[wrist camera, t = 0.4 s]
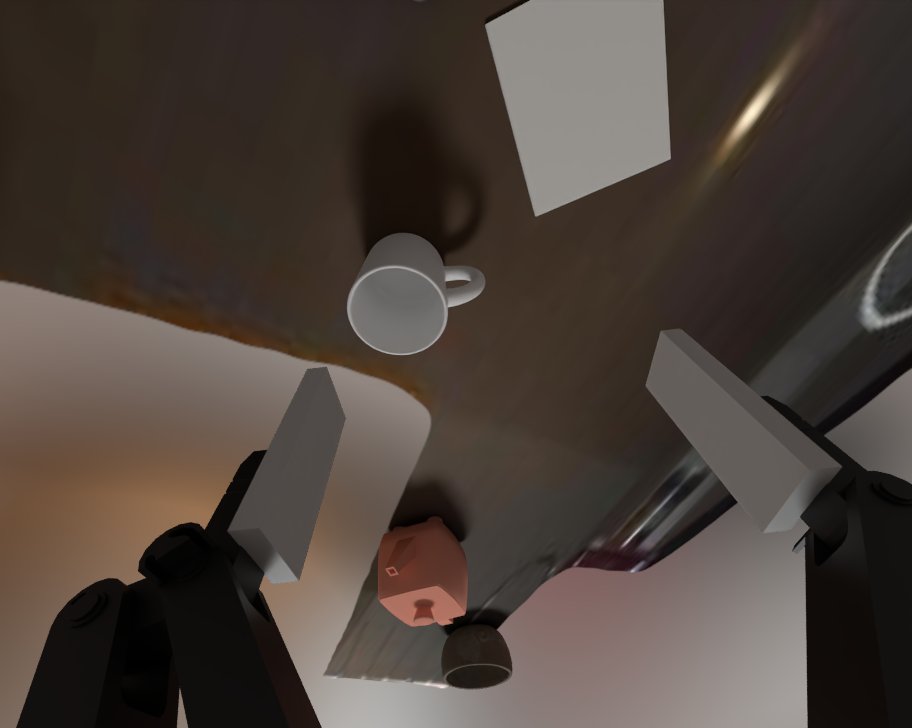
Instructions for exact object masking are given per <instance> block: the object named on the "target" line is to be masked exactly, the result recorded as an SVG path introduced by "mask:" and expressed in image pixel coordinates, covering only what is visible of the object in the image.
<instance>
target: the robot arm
mask: <svg viewBox="0 0 912 728" xmlns="http://www.w3.org/2000/svg"><path fill="white" fill-rule="evenodd" d="M646 387H647V388H648V390H649V391H650V392H651V393H652V395H653V396H654V397H655V398H656V400H657V401H658V402H659V403H660V405H661V406H662V407H663V409H664V410H665V411H666V412H667V414H668V415H669V416H670V417H671V419H672V420H673V421H674V422H675V424H676V425H677V426H678V427H679V429H680V430H681V431H682V432H683V434H684V435H685V436H686V437H687V439H688V440H689V441H690V443H691V444H692V445H693V446H694V448H695V449H696V450H697V451H698V453H699V454H700V455H701V456H702V458H703V459H704V460H705V461H706V463H707V464H708V465H709V466H710V468H711V469H712V470H713V471H714V473H715V474H716V475H717V477H718V478H719V479H720V480H721V482H722V483H723V484H724V485H725V487H726V488H727V489H728V490H729V492H730V493H731V494H732V495H733V497H734V498H735V499H736V500H737V502H738V503H739V504H740V505H741V507H742V508H743V509H744V510H745V512H746V513H747V514H748V516H749V517H750V518H751V519H752V521H753V522H754V523H755V524H756V526H757V527H758V528H759V529H760V531H761V532H762V533H768V532H778V531H786V530H790V529H791V528H792V527H793V526H794V524H795V523H796V522H797V521H798V520H799V518H801V519H802V520H803V521H804V522H805V523H806V524H807V525H808V526H809V527H810V528H809V530H808V531H807V532H806V533H805V534H804V535H803V536H802V537H801V539H800V540H799V541H798V542H797V543H796V544H795V545H794V548H793V552H795V553H798V552H799V551H800V550H801V549H802V548H803V547H805V560H806V561H805V566H806V567H805V569H806V637H807V638H806V639H807V707H808V708H807V709H808V710H807V711H808V728H912V484H910V483H909V482H907V481H905V480H903V479H900V478H898V477H895V476H893V475H890V474H886V473H882V472H878V471H867V470H866V469H864V468H863V467H861V466H860V465H859V464H858V463H857V462H855V461H854V460H853V459H852V458H851V457H849V456H848V455H847V454H846V453H844V452H843V451H842V450H841V449H840V448H838V447H837V446H836V445H834V444H833V443H832V442H831V441H830V440H828V439H827V438H826V437H825V436H824V435H822V434H821V433H820V432H819V431H815V430H814V427H812V426H811V425H810V424H809V423H808V422H806V421H805V420H804V421H803V420H802V418H801V417H800V416H799V415H798V414H797V413H795V412H794V411H793V410H792V409H790V408H789V407H788V406H787V405H785V404H783V403H781V402H779V401H777V400H775V399H773V398H771V397H769V396H759V395H758V394H756V393H755V392H754V391H753V390H752V389H751V388H749V387H748V386H747V385H746V384H745V383H744V382H742V381H741V380H740V379H739V378H738V377H737V376H735V375H734V374H733V373H732V372H731V371H729V370H728V369H727V368H726V367H725V366H724V365H722V364H721V363H720V362H719V361H718V360H717V359H715V358H714V357H713V356H712V355H711V354H710V353H708V352H707V351H706V350H705V349H704V348H702V347H701V346H700V345H699V344H698V343H697V342H695V341H694V340H693V339H692V338H691V337H690V336H688V335H687V334H686V333H685V332H684V331H683V330H681V329H673V330H664V331H661V332H660V336H659V339H658V343H657V347H656V350H655V354H654V357H653V361H652V365H651V368H650V372H649V375H648V379H647V383H646ZM345 419H346V418H345V415H344V412H343V409H342V407H341V404H340V401H339V399H338V396H337V394H336V391H335V388H334V385H333V382H332V380H331V377H330V374H329V372H328V369H327V367H322V368H313V369H307V371H306V373H305V375H304V377H303V379H302V381H301V383H300V385H299V387H298V389H297V391H296V393H295V395H294V397H293V399H292V401H291V403H290V405H289V407H288V409H287V411H286V413H285V415H284V417H283V419H282V421H281V424H280V425H279V427H278V429H277V431H276V434H275V436H274V438H273V440H272V442H271V444H270V446H269V448H268V450H261V451H254V452H253V453H252V454H251V455H250V456H249V457H248V458H247V459H246V460H245V461H244V462H243V463H242V464H241V465H240V467H239V469H238V470H237V472H236V474H235V476H234V478H233V482H231V483H230V485H229V487H228V489H227V490H226V494H224V496H223V498H222V499H221V501H220V503H219V505H218V507H217V508H216V510H215V512H214V514H213V516H212V518H211V519H210V521H209V523H208V525H207V527H206V528H205V530H204V529H203V528H202V527H201V526H200V524H196V523H192V522H190V523H185V524H180V525H178V526H176V527H173V528H171V529H169V530H168V531H166V532H165V533H163V534H162V535H160V536H159V537H158V538H156V539H155V541H153V542H152V544H151V545H150V546H149V547H148V548H147V549H146V550H145V552H144V554H143V556H142V557H141V559H140V561H139V569H138V571H139V572H140V573H141V574H142V575H143V576H145V577H146V578H145V579H142V580H140V581H137V582H135V583H132V584H130V585H128V586H127V585H125V584H124V583H123V582H121V581H120V580H118V579H114V578H107V579H104V580H101V581H98V582H95V583H94V584H92V585H90V586H89V587H87V588H85V589H84V590H82V591H81V592H80V593H78V594H77V595H76V596H75V597H73V598H72V599H71V600H70V601H69V602H68V603H67V604H66V605H65V607H64V608H63V609H62V610H61V611H60V612H59V614H58V615H57V617H56V619H55V620H54V622H53V624H52V626H51V629H50V631H49V634H48V637H47V640H46V643H45V646H44V649H43V652H42V654H41V657H40V660H39V663H38V666H37V669H36V672H35V675H34V678H33V681H32V683H31V686H30V689H29V692H28V695H27V698H26V701H25V704H24V707H23V710H22V713H21V715H20V718H19V721H18V724H17V727H16V728H177V717H178V703H179V689H180V690H181V694H182V699H183V705H184V709H185V714H186V719H187V724H188V728H322V727H321V725H320V723H319V721H318V718H317V716H316V714H315V711H314V709H313V707H312V705H311V702H310V700H309V698H308V695H307V693H306V691H305V689H304V686H303V684H302V682H301V679H300V677H299V675H298V673H297V670H296V668H295V666H294V664H293V661H292V659H291V657H290V655H289V652H288V650H287V648H286V646H285V643H284V641H283V639H282V636H281V634H280V632H279V630H278V627H277V625H276V623H275V620H274V618H273V616H272V614H271V611H270V609H269V607H268V605H267V603H266V600H265V598H264V595H263V593H262V592H261V591H260V590H259V587H260V584H261V581H262V579H263V576H264V575H265V576H266V577H267V578H268V579H269V581H270V582H271V583H272V584H276V583H285V582H295V581H299V579H300V576H301V572H302V569H303V565H304V562H305V558H306V555H307V552H308V548H309V544H310V541H311V538H312V534H313V531H314V527H315V524H316V520H317V516H318V513H319V510H320V506H321V503H322V499H323V495H324V492H325V489H326V485H327V482H328V478H329V475H330V471H331V468H332V464H333V461H334V457H335V454H336V450H337V447H338V443H339V440H340V436H341V433H342V429H343V426H344V422H345Z"/></svg>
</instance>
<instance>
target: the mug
mask: <svg viewBox="0 0 912 728" xmlns="http://www.w3.org/2000/svg"><path fill="white" fill-rule="evenodd" d="M451 280H468V281H471V282H470V283H468V284H466V285H464V286H461V287H457V288H451V289H446V281H451ZM484 286H485V278H484V275H483V274H482V273H481V272H480V271H479V270H477V269H475V268H473V267H469V266H444V265H443V262H442V259H441V257H440V255H439V253H438V252H437V250H436V249H435V248H434V246H433V245H432V244H431V243H429V242H428V241H427V240H425V239H424V238H422V237H420V236H417V235H415V234H410V233H396V234H392V235H389V236H387V237H385V238H383V239H381V240H380V241H378V242H377V243H376V244H375V245H374V247H373V248H372V249H371V251H370V252H369V254H368V256H367V258H366V260H365V262H364V264H363V266H362V268H361V270H360V272H359V274H358V276H357V278H356V280H355V282H354V284H353V286H352V288H351V290H350V293H349V296H348V301H347V312H348V317H349V320H350V323H351V325H352V327H353V329H354V331H355V332H356V333H357V335H358V336H359V337H360V338H361V339H362V340H363V341H364V342H365V343H366V344H368V345H369V346H371V347H373V348H374V349H376V350H379V351H381V352H384V353H388V354H393V355H408V354H413V353H417V352H420V351H422V350H424V349H426V348H428V347H429V346H431V345H432V344H433V343H434V342H435V341H436V340H437V339H438V338H439V337H440V335H441V334H442V332H443V330H444V328H445V326H446V322H447V316H448V307H452V306H457V305H460V304H463V303H466V302H468V301H470V300H472V299H474V298H475V297H477V296H478V295H479V294H480V293H481V292H482V290H483V288H484Z"/></svg>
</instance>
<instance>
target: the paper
mask: <svg viewBox="0 0 912 728" xmlns="http://www.w3.org/2000/svg"><path fill="white" fill-rule="evenodd" d="M485 28H486V32H487V35H488V39H489V43H490V47H491V51H492V54H493V58H494V62H495V66H496V70H497V73H498V77H499V81H500V85H501V89H502V93H503V96H504V100H505V104H506V108H507V112H508V115H509V119H510V123H511V127H512V131H513V134H514V138H515V142H516V146H517V150H518V154H519V157H520V161H521V165H522V169H523V173H524V176H525V180H526V184H527V188H528V192H529V195H530V199H531V203H532V207H533V211H534V215H535V217H536V216H538V215H541V214H543V213H545V212H548V211H550V210H552V209H555V208H557V207H560V206H562V205H564V204H567V203H569V202H571V201H574V200H576V199H578V198H581V197H583V196H585V195H588V194H590V193H592V192H595V191H597V190H599V189H602V188H604V187H606V186H609V185H611V184H613V183H616V182H618V181H620V180H623V179H625V178H628V177H630V176H632V175H635V174H637V173H639V172H642V171H644V170H646V169H649V168H651V167H653V166H656V165H658V164H660V163H663V162H665V161H667V160H670V159H671V155H670V134H669V112H668V91H667V69H666V48H665V26H664V4H663V0H530V1H528V2H526V3H524V4H522V5H521V6H519V7H517V8H515V9H513V10H511V11H509V12H508V13H506V14H504V15H502V16H500V17H498V18H496V19H495V20H493V21H491V22H489V23H487V24H485Z"/></svg>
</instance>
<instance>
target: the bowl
mask: <svg viewBox="0 0 912 728" xmlns="http://www.w3.org/2000/svg"><path fill="white" fill-rule="evenodd" d="M441 667H442V675H443V680H444V682H445V683H446V684H447V685H449V686H452V687H455V688H460V689H483V688H489V687H493V686H496V685H499V684H502V683H504V682H506V681H507V680H508V679H509V678H510V677H511V676H512V661H511V657H510V652H509V650H508V647H507V644H506V642H505V640H504V638H503V637H502V635H501V634H500V633H499V632H498V631H497V630H496V629H495V628H493V627H492V626H489V625H485V624H470V625H466V626H462V627H459V628H458V629H456V630H455V631H454V632H453V633H451V634H450V635H449V637H448V638H447V640H446V642H445V645H444V647H443V651H442V660H441Z"/></svg>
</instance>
